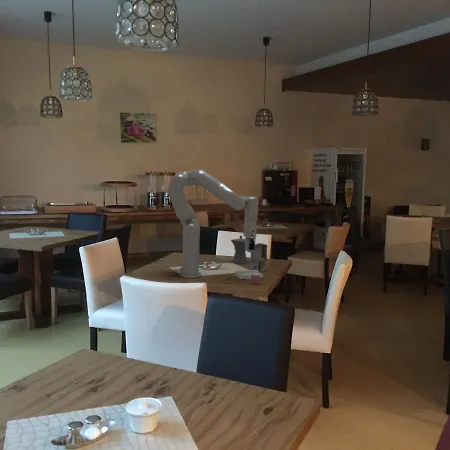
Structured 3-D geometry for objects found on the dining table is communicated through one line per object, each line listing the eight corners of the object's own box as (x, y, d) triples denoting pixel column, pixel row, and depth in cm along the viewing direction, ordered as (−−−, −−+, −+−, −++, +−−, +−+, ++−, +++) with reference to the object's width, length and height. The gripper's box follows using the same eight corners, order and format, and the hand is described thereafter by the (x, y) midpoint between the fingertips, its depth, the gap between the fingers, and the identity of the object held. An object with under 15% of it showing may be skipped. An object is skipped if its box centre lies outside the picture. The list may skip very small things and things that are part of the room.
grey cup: (246, 251, 293) (247, 239, 292) (243, 249, 299) (243, 237, 298) (256, 251, 295) (256, 239, 294) (253, 249, 301) (253, 237, 300)
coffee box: (258, 268, 321) (259, 242, 319) (266, 270, 317) (267, 244, 315) (249, 270, 314) (250, 244, 312) (258, 272, 310) (259, 246, 308)
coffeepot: (228, 263, 331) (229, 236, 328) (230, 260, 340) (231, 233, 337) (252, 265, 329) (253, 237, 326) (253, 262, 338) (255, 235, 335)
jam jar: (252, 285, 282) (253, 274, 281) (249, 282, 287) (250, 272, 286) (261, 284, 283) (262, 274, 282) (258, 282, 288) (258, 271, 287)
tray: (241, 279, 292) (241, 275, 291) (234, 274, 303) (235, 270, 303) (262, 278, 295) (262, 274, 295) (255, 273, 307) (255, 269, 306)
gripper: (240, 216, 301) (239, 246, 304) (249, 220, 285) (248, 251, 288) (252, 215, 303) (251, 245, 306) (262, 220, 287) (260, 251, 290)
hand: (249, 248), depth 297 cm, fingers closed on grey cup, 6 cm apart
